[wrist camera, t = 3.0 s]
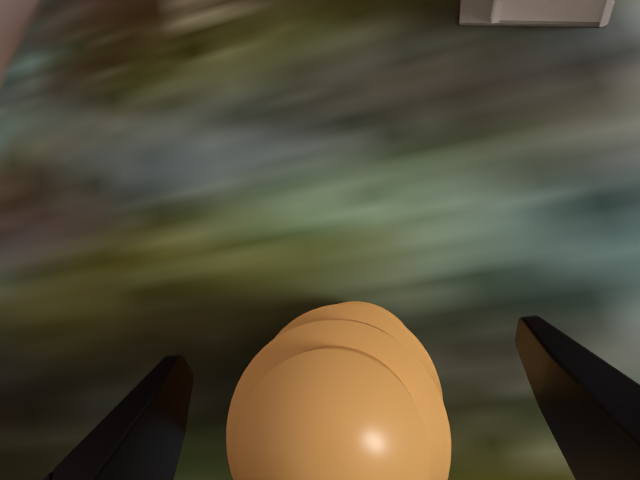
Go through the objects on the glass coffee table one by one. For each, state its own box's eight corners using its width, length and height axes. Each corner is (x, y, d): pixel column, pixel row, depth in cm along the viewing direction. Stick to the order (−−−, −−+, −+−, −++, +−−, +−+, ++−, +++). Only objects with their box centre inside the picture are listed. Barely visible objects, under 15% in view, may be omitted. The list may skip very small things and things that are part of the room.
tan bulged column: (337, 435, 16) (248, 749, 4) (287, 335, 17) (112, 369, 6) (434, 382, 16) (607, 555, 4) (377, 285, 17) (393, 212, 6)
